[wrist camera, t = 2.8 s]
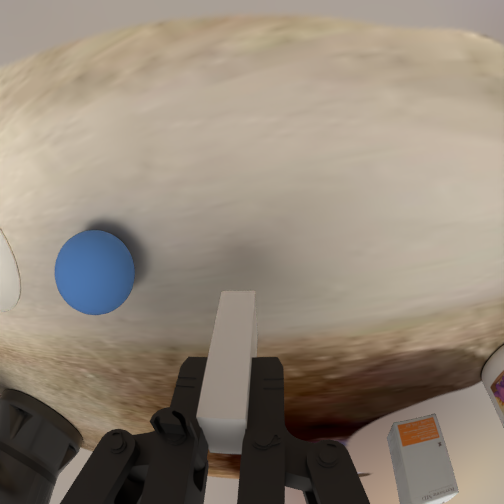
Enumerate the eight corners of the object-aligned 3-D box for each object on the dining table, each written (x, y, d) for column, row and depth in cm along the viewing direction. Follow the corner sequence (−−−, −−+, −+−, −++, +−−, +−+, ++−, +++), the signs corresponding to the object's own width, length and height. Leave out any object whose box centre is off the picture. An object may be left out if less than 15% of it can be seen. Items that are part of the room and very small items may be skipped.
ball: (112, 294, 24) (84, 342, 19) (66, 241, 21) (27, 282, 17) (160, 262, 22) (135, 313, 17) (110, 201, 20) (69, 239, 15)
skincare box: (435, 411, 31) (461, 491, 21) (426, 428, 33) (447, 502, 23) (392, 421, 32) (411, 508, 21) (385, 437, 34) (400, 516, 24)
